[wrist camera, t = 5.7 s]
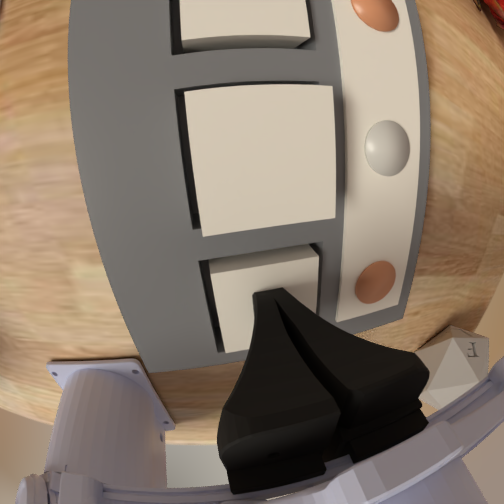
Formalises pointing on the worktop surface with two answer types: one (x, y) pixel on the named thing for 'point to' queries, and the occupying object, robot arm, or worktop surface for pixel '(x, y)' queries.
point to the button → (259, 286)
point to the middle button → (262, 155)
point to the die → (453, 365)
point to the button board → (182, 177)
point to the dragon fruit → (495, 10)
